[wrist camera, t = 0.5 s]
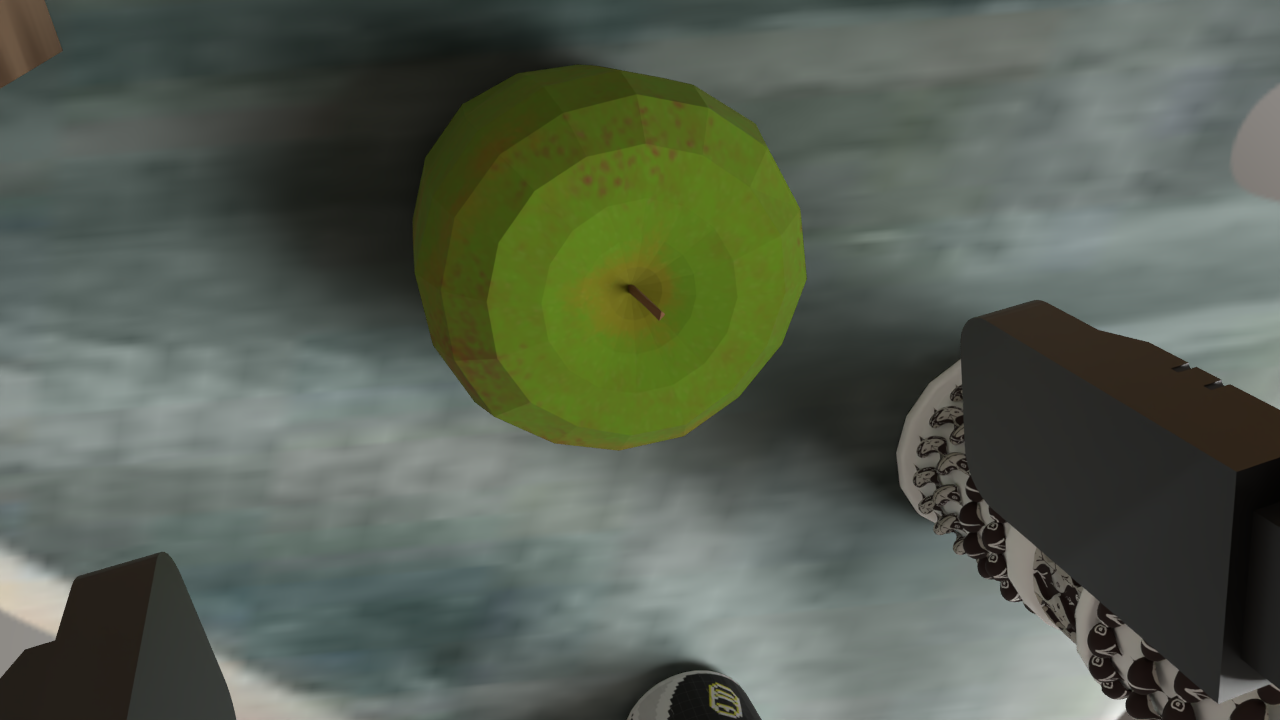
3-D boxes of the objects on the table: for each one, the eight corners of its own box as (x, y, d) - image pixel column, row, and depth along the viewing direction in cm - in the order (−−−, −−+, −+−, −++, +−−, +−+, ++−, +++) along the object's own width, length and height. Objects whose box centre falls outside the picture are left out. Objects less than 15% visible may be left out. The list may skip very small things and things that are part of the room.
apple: (695, 20, 37) (841, 57, 27) (728, 317, 41) (864, 440, 32) (362, 81, 35) (391, 145, 25) (434, 389, 39) (483, 545, 29)
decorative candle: (878, 551, 47) (1401, 1111, 25) (896, 350, 44) (1520, 793, 22) (1062, 519, 50) (1686, 1005, 28) (1092, 326, 46) (1834, 704, 24)
